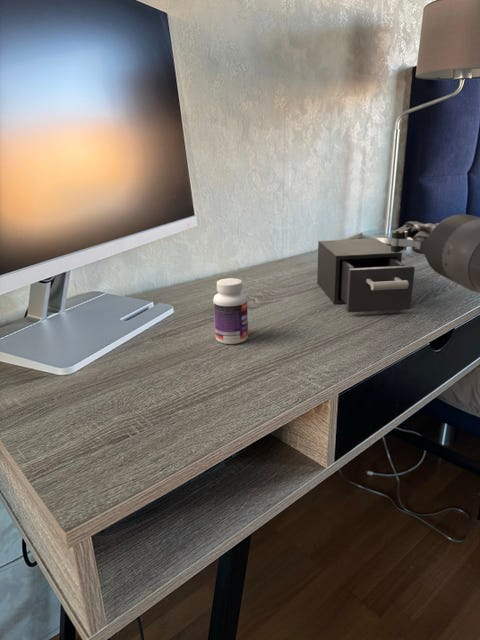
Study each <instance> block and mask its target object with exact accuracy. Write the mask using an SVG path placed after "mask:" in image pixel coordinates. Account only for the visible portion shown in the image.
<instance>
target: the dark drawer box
mask: <svg viewBox="0 0 480 640" xmlns="http://www.w3.org/2000/svg"><path fill="white" fill-rule="evenodd" d="M415 271H416V266H414V265H412V264H410V265H409V264H408V265H405V264H404V263H403V262H402V261H401V262H399V261H398V260H396V259H394V258H392V257H386V258H367V259H348V260H340V273H339V296H340V297H341V299H342V300H343V301H344V302H345V303H346V304H345V305H346V307H345V308H346V309H345V310H346V312H347V313H363V312H380V311H382V312H383V311H397V310H398V311H399V310H400V311H401V310H411V308H412V307H411V306H412V298H413V297H412V296H413V286H414V279H415Z"/></svg>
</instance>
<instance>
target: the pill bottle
mask: <svg viewBox="0 0 480 640" xmlns="http://www.w3.org/2000/svg"><path fill="white" fill-rule="evenodd" d="M242 291H243V280H241V279H240V278H232V277H229V278H222V279H219V280H217V281H216V292H218V293H216V294H215V295H214V296H213V299H212V300H213V303H212V304H213V317H214V320H213V321H214V334H215V339H216V341H217V342H219V343H221V344H224V345H236V344H241V343H243V342H245V341H246V340H247V339H248V338H249V320H248V319H249V318H248V317H249V316H248V297H247V294H245V293H244V292H242Z"/></svg>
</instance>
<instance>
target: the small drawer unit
mask: <svg viewBox="0 0 480 640" xmlns="http://www.w3.org/2000/svg"><path fill="white" fill-rule="evenodd" d="M317 243H318V244H317V276H316V277H317V278H316V283H317V285H318V286H319V288H320V289H321V290H322V292H323V293H324V294H325V295H326V296H327V297H328V299H329V300H330V301H331V302H332V304H333V305H347V304H346V303H345V302H344V301H343V300H342V299H341V297H340V296H339V273H340V260H348V259H367V258H386V257H392V258H394V259H396V260H398V261H399V262H401V263H402V255H403V252H402V251H400V252H397V253H395V252H392V251H391V245H388V244H386V243H385V242H383V241H380V240H379V239H378V238H375V237H373V238H372V237H371V238H355V239H354V238H352V239H333V240H318V241H317Z"/></svg>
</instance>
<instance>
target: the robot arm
mask: <svg viewBox="0 0 480 640" xmlns="http://www.w3.org/2000/svg"><path fill="white" fill-rule="evenodd" d="M391 232H392V233H391V242H390V243H391V245H390V247H391V251H392V252H395V253H397V252H403V251H407V248H411V250H412V251H413V252H414V253H416V254H421V255H424V256H425V259H426V261H427V263H428V265H429V267H430V268H431V270H432V271H434V272H435V273H436V274H438V275H440V276H442V277H444V278H446V279H448V280H450V281H452V282H453V283H455V284H457V285H459V286H461V287H463V288H465V289H468V290H469V291H471V292H476V293H478V294H480V216H476V215H475V216H474V215H471V214H465V213H461V214H454V215H451V216H448V217H446V218H444V219H443V220H441V221H440V222H439V223H434V224H433V223H432V222H430V223H429V222H428V223H423V222H420V221H405V223H404V224H403V225H402V226H401V227H399V228H397V229H394V230H393V231H391Z"/></svg>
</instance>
